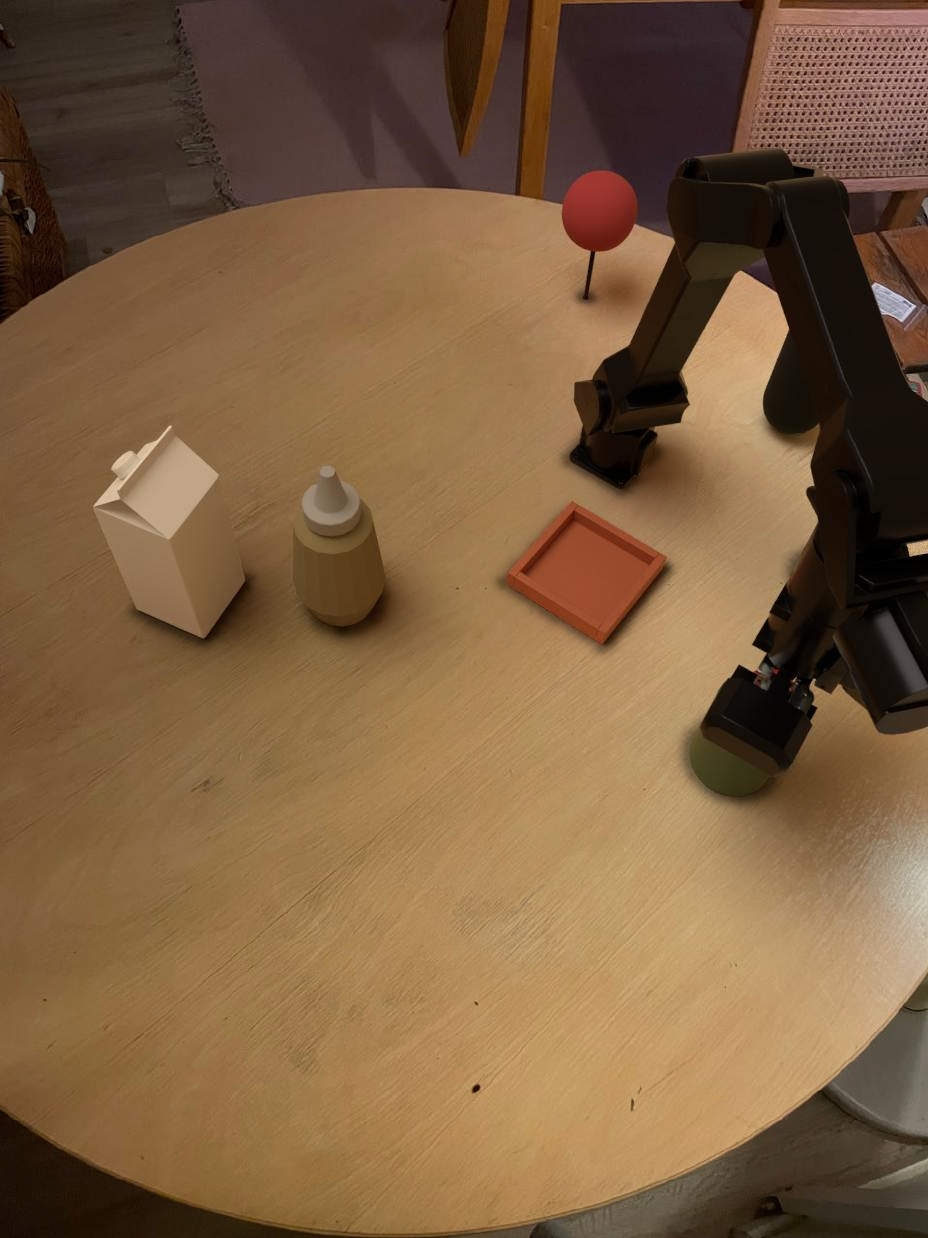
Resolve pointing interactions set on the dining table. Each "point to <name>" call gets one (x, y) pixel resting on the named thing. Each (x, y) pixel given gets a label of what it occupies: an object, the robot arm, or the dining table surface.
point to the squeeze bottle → (336, 552)
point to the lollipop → (599, 214)
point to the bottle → (723, 768)
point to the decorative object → (789, 394)
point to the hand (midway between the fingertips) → (764, 704)
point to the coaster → (586, 571)
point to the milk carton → (172, 534)
